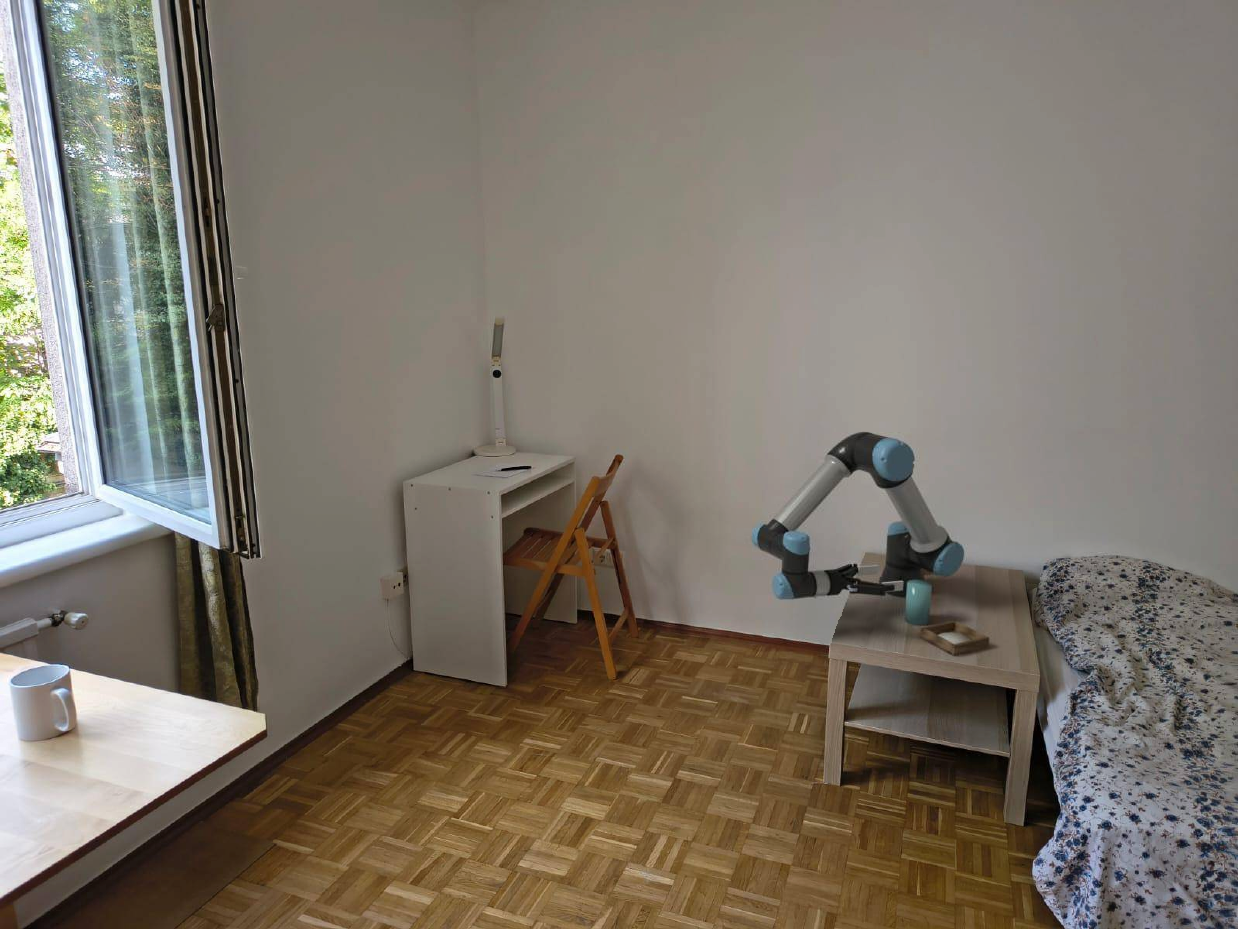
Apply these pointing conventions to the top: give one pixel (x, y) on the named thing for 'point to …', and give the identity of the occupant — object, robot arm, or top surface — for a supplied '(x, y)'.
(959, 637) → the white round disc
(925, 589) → the teal cylinder
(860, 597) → the top surface
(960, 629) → the walnut tray
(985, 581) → the top surface
